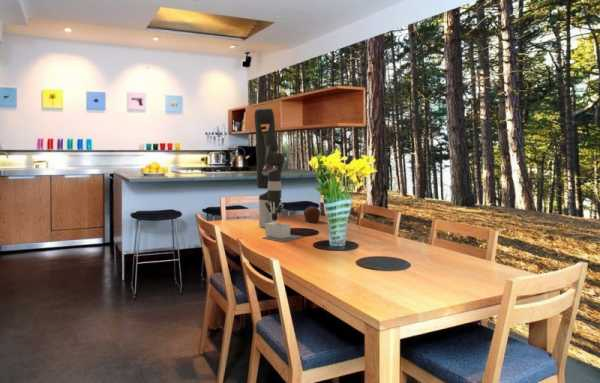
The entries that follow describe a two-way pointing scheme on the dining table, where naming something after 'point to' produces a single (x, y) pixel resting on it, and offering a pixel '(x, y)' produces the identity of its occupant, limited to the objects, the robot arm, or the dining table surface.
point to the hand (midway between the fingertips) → (274, 220)
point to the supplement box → (277, 230)
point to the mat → (292, 237)
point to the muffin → (312, 214)
